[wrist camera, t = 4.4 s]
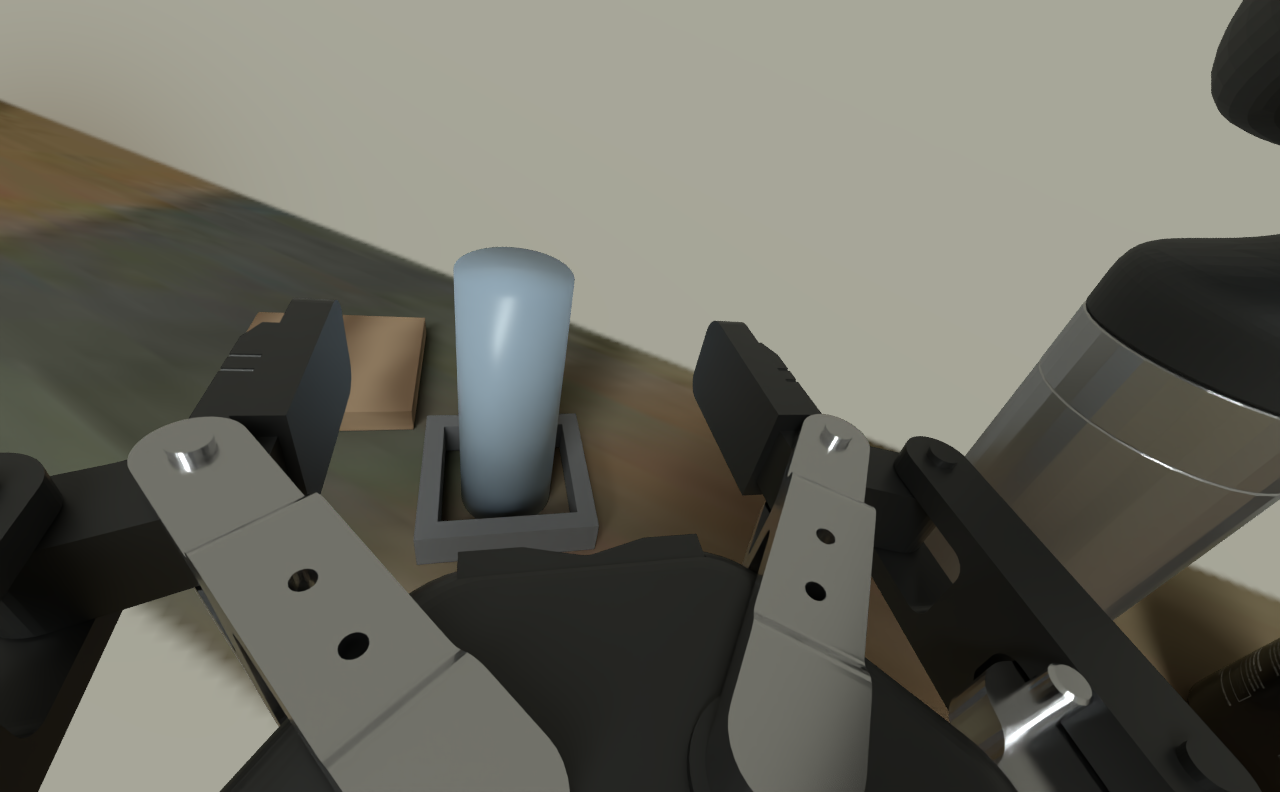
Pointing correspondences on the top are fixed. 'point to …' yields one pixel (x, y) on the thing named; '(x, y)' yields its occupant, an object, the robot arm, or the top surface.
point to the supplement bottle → (1246, 712)
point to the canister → (509, 376)
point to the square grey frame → (531, 531)
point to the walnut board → (379, 369)
